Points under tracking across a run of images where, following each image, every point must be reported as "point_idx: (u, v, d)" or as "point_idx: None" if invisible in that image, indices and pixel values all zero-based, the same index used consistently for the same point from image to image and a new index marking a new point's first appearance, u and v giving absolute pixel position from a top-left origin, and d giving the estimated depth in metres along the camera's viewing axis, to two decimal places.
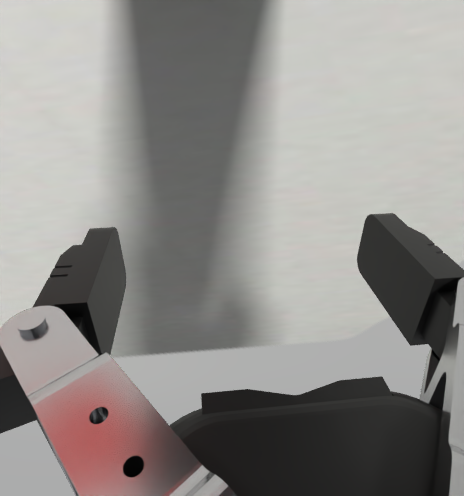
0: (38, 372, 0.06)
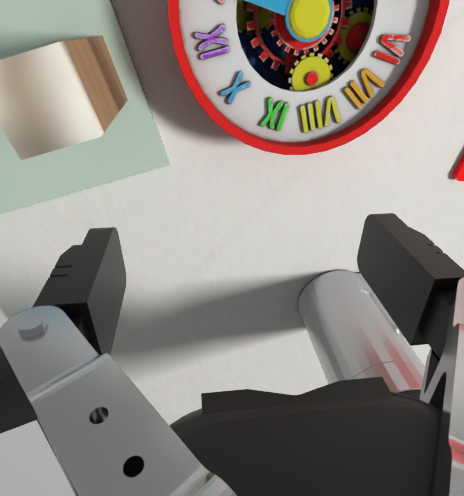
0: (38, 372, 0.06)
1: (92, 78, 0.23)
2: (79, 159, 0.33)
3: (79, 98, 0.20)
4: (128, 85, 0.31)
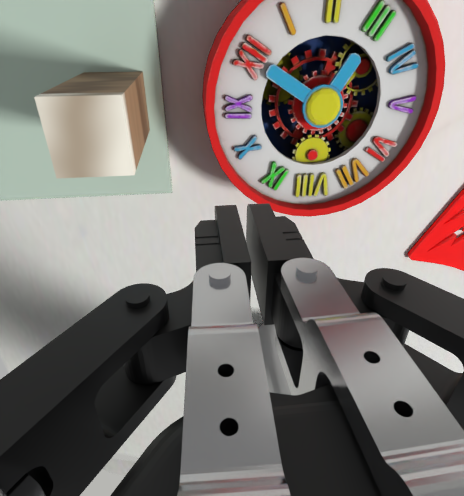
0: (249, 310, 0.07)
1: (134, 119, 0.26)
2: None
3: (125, 141, 0.23)
4: (154, 117, 0.34)
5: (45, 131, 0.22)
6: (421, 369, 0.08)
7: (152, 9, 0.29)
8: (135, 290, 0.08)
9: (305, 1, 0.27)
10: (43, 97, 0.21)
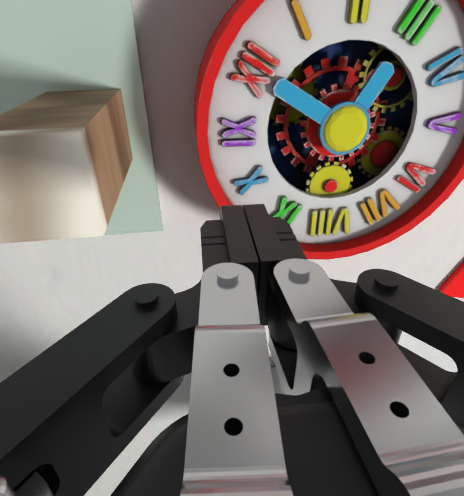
0: (257, 310, 0.07)
1: (105, 157, 0.19)
2: None
3: (88, 193, 0.17)
4: (137, 144, 0.27)
5: None
6: (415, 369, 0.08)
7: (129, 11, 0.23)
8: (143, 290, 0.08)
9: None
10: None
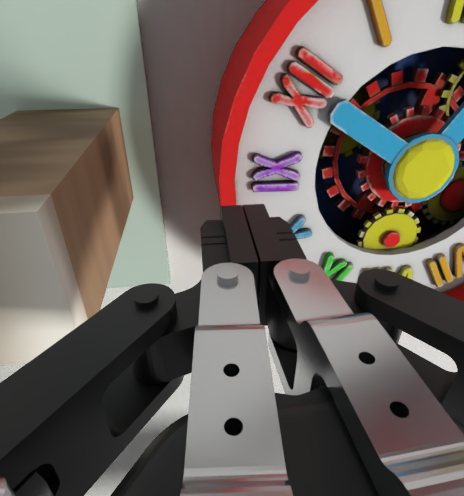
0: (257, 310, 0.07)
1: (91, 223, 0.13)
2: None
3: (58, 302, 0.10)
4: (140, 179, 0.21)
5: None
6: (414, 369, 0.08)
7: (132, 1, 0.16)
8: (144, 290, 0.08)
9: None
10: None
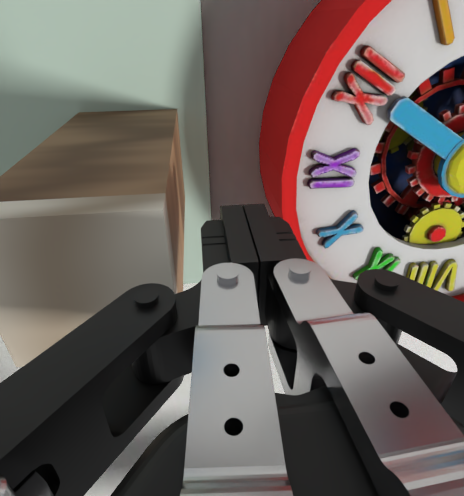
0: (258, 310, 0.07)
1: (176, 221, 0.13)
2: None
3: None
4: (192, 179, 0.21)
5: None
6: (414, 369, 0.08)
7: (197, 4, 0.17)
8: (144, 290, 0.08)
9: None
10: None
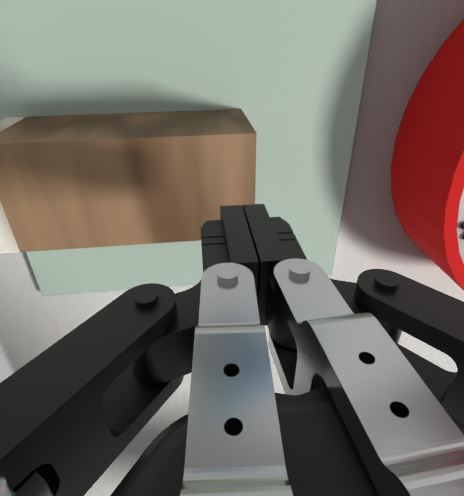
0: (258, 310, 0.07)
1: (61, 193, 0.15)
2: None
3: None
4: (332, 174, 0.22)
5: None
6: (414, 369, 0.08)
7: (373, 5, 0.17)
8: (144, 290, 0.08)
9: None
10: None
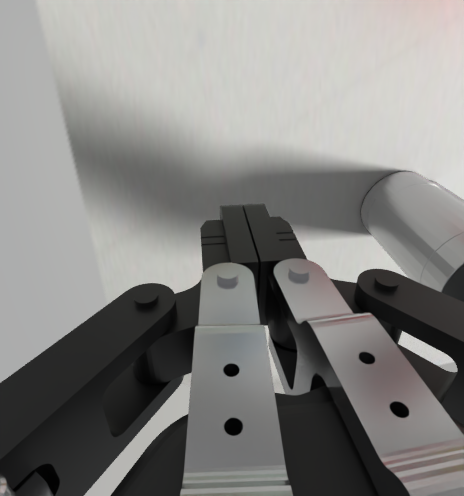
0: (257, 310, 0.07)
1: None
2: None
3: None
4: None
5: None
6: (414, 369, 0.08)
7: None
8: (144, 290, 0.08)
9: None
10: None
